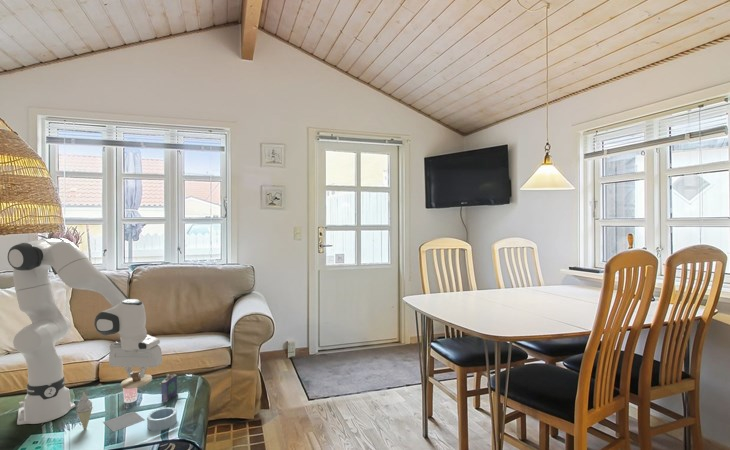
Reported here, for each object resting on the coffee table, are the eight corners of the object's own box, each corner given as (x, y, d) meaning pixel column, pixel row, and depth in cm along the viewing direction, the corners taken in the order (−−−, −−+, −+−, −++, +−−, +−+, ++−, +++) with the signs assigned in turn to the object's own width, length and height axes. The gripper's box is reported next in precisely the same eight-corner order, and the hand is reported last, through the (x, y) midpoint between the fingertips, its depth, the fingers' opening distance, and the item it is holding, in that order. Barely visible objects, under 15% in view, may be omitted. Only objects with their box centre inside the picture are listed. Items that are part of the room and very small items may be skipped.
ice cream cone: (90, 425, 154) (89, 387, 154) (95, 430, 151) (93, 390, 151) (75, 431, 150) (73, 391, 150) (79, 435, 147) (78, 395, 147)
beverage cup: (141, 400, 175) (140, 368, 174) (126, 406, 170) (125, 373, 169) (134, 397, 178) (133, 365, 178) (119, 402, 173) (118, 370, 173)
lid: (114, 388, 150) (113, 377, 150) (134, 376, 160) (133, 366, 160) (139, 388, 149) (139, 378, 148) (158, 377, 159) (157, 367, 159)
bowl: (143, 426, 153) (143, 414, 153) (169, 416, 161) (169, 405, 161) (154, 435, 147) (154, 423, 147) (181, 424, 154) (180, 412, 154)
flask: (165, 403, 172) (164, 378, 171) (159, 403, 172) (158, 378, 172) (178, 393, 181) (178, 370, 181) (172, 393, 181) (172, 370, 181)
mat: (103, 423, 156) (103, 422, 156) (133, 412, 164) (133, 411, 164) (113, 433, 149) (113, 431, 149) (144, 421, 157) (144, 419, 157)
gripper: (103, 344, 152) (105, 380, 153) (152, 344, 149) (155, 381, 150) (116, 339, 158) (118, 373, 159) (163, 339, 155) (165, 374, 156)
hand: (136, 377), depth 154 cm, fingers closed on lid, 3 cm apart
